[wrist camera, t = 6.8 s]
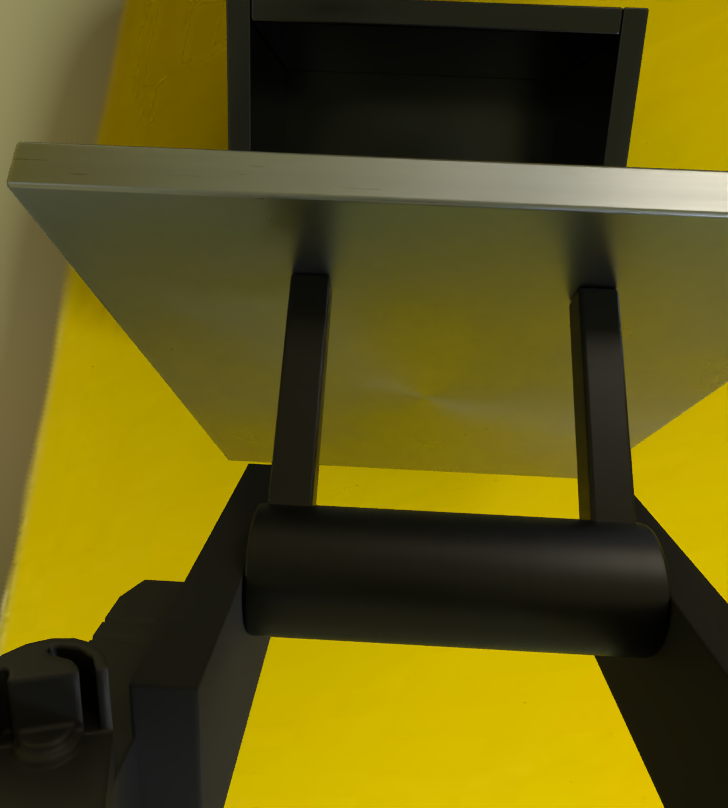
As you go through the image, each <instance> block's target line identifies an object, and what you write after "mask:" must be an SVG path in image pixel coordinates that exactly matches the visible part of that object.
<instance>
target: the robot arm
mask: <svg viewBox="0 0 728 808" xmlns="http://www.w3.org/2000/svg"><path fill="white" fill-rule="evenodd" d="M271 468H272V465H264V464H248V466H247V468H246V470H245V472H244V474H243V475H242V477H241V479H240V481H239V483H238V485H237V486H236V488H235V490H234V492H233V494H232V496H231V497H230V499H229V501H228V503H227V505H226V507H225V508H224V510H223V512H222V514H221V516H220V518H219V519H218V521H217V523H216V525H215V527H214V529H213V530H212V532H211V534H210V536H209V538H208V540H207V541H206V543H205V545H204V547H203V549H202V551H201V552H200V554H199V556H198V558H197V560H196V562H195V563H194V565H193V567H192V569H191V571H190V573H189V574H188V576H187V578H186V580H185V582H174V581H157V580H144V581H142V582H141V583H139V584H138V585H137V586H135V587H134V588H132V589H131V590H129V591H128V592H126V593H125V594H123V595H122V596H120V597H119V599H118V600H117V602H116V603H115V605H114V606H113V607H112V609H111V610H110V612H109V613H108V615H107V616H106V618H105V622H102V623H101V625H100V626H99V628H98V629H97V631H96V632H95V634H94V635H93V639H92V640H90V641H89V642H86V641H83V640H79V639H75V638H54V639H47V640H43V641H38V642H34V643H29V644H26V645H23V646H21V647H19V648H17V649H14V650H12V651H10V652H7V653H5V654H3V655H1V656H0V808H224V804H225V800H226V797H227V793H228V789H229V786H230V782H231V779H232V775H233V771H234V768H235V764H236V760H237V757H238V753H239V749H240V746H241V742H242V738H243V735H244V731H245V728H246V724H247V720H248V717H249V713H250V709H251V706H252V702H253V698H254V695H255V691H256V687H257V684H258V680H259V677H260V673H261V669H262V666H263V662H264V658H265V655H266V651H267V647H268V644H269V640H270V637H267V636H252V635H250V634H248V633H247V631H246V628H245V624H244V619H243V606H242V590H243V571H244V561H245V553H246V546H247V540H248V534H249V530H250V526H251V522H252V518H253V516H254V513H255V511H256V509H257V507H258V505H260V504H262V503H268V497H269V487H270V477H271ZM634 501H635V514H636V522H638V523H642V524H644V525H647V526H648V527H649V528H651V529H652V531H653V532H654V533H655V535H656V536H657V538H658V540H659V542H660V544H661V546H662V549H663V552H664V555H665V559H666V563H667V567H668V573H669V580H670V593H671V606H670V619H669V625H668V630H667V634H666V638H665V640H664V643H663V645H662V647H661V649H660V650H659V651H658V652H657V653H656V654H655V655H653V656H651V657H649V658H633V657H616V656H598V655H594V656H595V658H596V660H597V662H598V664H599V667H600V669H601V671H602V673H603V675H604V677H605V680H606V682H607V684H608V686H609V688H610V690H611V693H612V695H613V697H614V699H615V701H616V703H617V706H618V708H619V710H620V712H621V714H622V716H623V719H624V721H625V723H626V725H627V727H628V729H629V732H630V734H631V736H632V738H633V740H634V742H635V745H636V747H637V749H638V751H639V753H640V755H641V758H642V760H643V762H644V764H645V766H646V768H647V771H648V773H649V775H650V777H651V779H652V781H653V784H654V786H655V788H656V790H657V792H658V795H659V797H660V799H661V801H662V803H663V805H664V808H728V603H727V602H726V601H725V600H724V599H723V598H722V596H721V595H720V594H719V593H718V592H717V591H716V589H715V588H714V587H713V586H712V585H711V584H710V582H709V581H708V580H707V579H706V578H705V577H704V575H703V574H702V573H701V572H700V571H699V570H698V569H697V567H696V566H695V565H694V564H693V563H692V562H691V560H690V559H689V558H688V557H687V556H686V555H685V553H684V552H683V551H682V550H681V549H680V548H679V546H678V545H677V544H676V543H675V542H674V541H673V539H672V538H671V537H670V536H669V535H668V534H667V532H666V531H665V530H664V529H663V528H662V527H661V525H660V524H659V523H658V522H657V521H656V520H655V518H654V517H653V516H652V515H651V514H650V513H649V511H648V510H647V509H646V508H645V507H644V506H643V505H642V503H641V502H640V501H639V500H638V499H637V498H636V496H635V495H634Z"/></svg>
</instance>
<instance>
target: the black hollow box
mask: <svg viewBox="0 0 728 808" xmlns="http://www.w3.org/2000/svg"><path fill="white" fill-rule="evenodd" d="M226 11H227V81H228V150H230V151H254V152H278V153H303V154H327V155H351V156H375V157H399V158H423V159H447V160H471V161H495V162H519V163H543V164H567V165H591V166H615V167H626V165H627V158H628V151H629V144H630V137H631V130H632V123H633V116H634V109H635V102H636V95H637V88H638V81H639V74H640V67H641V60H642V53H643V46H644V39H645V32H646V25H647V18H648V11H649V10H648V8H628V7H626V8H624V9H623V8H621V7H594V6H566V5H539V4H511V3H484V2H457V1H429V0H226Z"/></svg>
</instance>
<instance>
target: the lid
mask: <svg viewBox="0 0 728 808" xmlns="http://www.w3.org/2000/svg"><path fill="white" fill-rule="evenodd" d="M7 185H8V187H9V189H10V190H11V191H12V192H13V194H14V195H15V196H16V197H17V199H18V200H19V201H20V202H21V204H22V205H23V206H24V207H25V208H26V210H27V211H28V212H29V213H30V215H31V216H32V217H33V218H34V220H35V221H36V222H37V223H38V225H39V226H40V227H41V228H42V229H43V231H44V232H45V233H46V234H47V236H48V237H49V238H50V239H51V241H52V242H53V243H54V244H55V246H56V247H57V248H58V249H59V251H60V252H61V253H62V254H63V255H64V257H65V258H66V259H67V260H68V262H69V263H70V264H71V265H72V267H73V268H74V269H75V270H76V272H77V273H78V274H79V275H80V277H81V278H82V279H83V280H84V281H85V283H86V284H87V285H88V286H89V288H90V289H91V290H92V291H93V293H94V294H95V295H96V296H97V298H98V299H99V300H100V301H101V303H102V304H103V305H104V306H105V307H106V309H107V310H108V311H109V312H110V314H111V315H112V316H113V317H114V319H115V320H116V321H117V322H118V324H119V325H120V326H121V327H122V328H123V330H124V331H125V332H126V333H127V335H128V336H129V337H130V338H131V340H132V341H133V342H134V343H135V345H136V346H137V347H138V348H139V350H140V351H141V352H142V353H143V354H144V356H145V357H146V358H147V359H148V361H149V362H150V363H151V364H152V366H153V367H154V368H155V369H156V371H157V372H158V373H159V374H160V376H161V377H162V378H163V379H164V380H165V382H166V383H167V384H168V385H169V387H170V388H171V389H172V390H173V392H174V393H175V394H176V395H177V397H178V398H179V399H180V400H181V401H182V403H183V404H184V405H185V406H186V408H187V409H188V410H189V411H190V413H191V414H192V415H193V416H194V418H195V419H196V420H197V421H198V423H199V424H200V425H201V426H202V427H203V429H204V430H205V431H206V432H207V434H208V435H209V436H210V437H211V439H212V440H213V441H214V442H215V444H216V445H217V446H218V447H219V449H220V450H221V451H222V452H223V453H224V455H225V456H226V457H227V458H228V460H233V461H252V462H271V463H272V468H271V477H270V487H269V497H268V503H262V504H260V505H258V507H257V509H256V511H255V513H254V516H253V518H252V522H251V526H250V530H249V534H248V540H247V546H246V553H245V561H244V571H243V590H242V606H243V619H244V624H245V628H246V631H247V633H248V634H250V635H252V636H267V637H284V638H302V639H319V640H337V641H354V642H372V643H389V644H406V645H424V646H441V647H459V648H476V649H494V650H511V651H529V652H546V653H563V654H581V655H598V656H616V657H633V658H649V657H651V656H653V655H655V654H656V653H657V652H658V651H659V650H660V649H661V647H662V645H663V643H664V640H665V638H666V634H667V630H668V625H669V619H670V606H671V593H670V580H669V573H668V567H667V563H666V559H665V555H664V552H663V549H662V546H661V544H660V542H659V540H658V538H657V536H656V535H655V533H654V532H653V531H652V529H651V528H649V527H648V526H647V525H644V524H642V523H638V522H636V514H635V501H634V488H633V474H632V461H631V448H633V447H634V446H636V445H637V444H639V443H640V442H641V441H643V440H644V439H646V438H647V437H649V436H650V435H652V434H653V433H654V432H656V431H657V430H659V429H660V428H662V427H663V426H665V425H666V424H667V423H669V422H670V421H672V420H673V419H675V418H676V417H678V416H679V415H680V414H682V413H683V412H685V411H686V410H688V409H689V408H691V407H692V406H693V405H695V404H696V403H698V402H699V401H701V400H702V399H704V398H705V397H706V396H708V395H709V394H711V393H712V392H714V391H715V390H717V389H718V388H719V387H721V386H722V385H724V384H725V383H727V382H728V171H711V170H687V169H663V168H639V167H615V166H591V165H567V164H543V163H519V162H495V161H471V160H447V159H423V158H399V157H375V156H351V155H327V154H303V153H278V152H254V151H230V150H206V149H182V148H158V147H134V146H110V145H86V144H85V145H84V144H62V143H61V144H60V143H37V142H19V143H18V144H17V145H16V149H15V152H14V156H13V160H12V164H11V167H10V171H9V175H8V179H7ZM319 465H329V466H349V467H368V468H387V469H407V470H426V471H446V472H465V473H484V474H504V475H523V476H542V477H562V478H578V496H579V516H580V519H564V518H545V517H526V516H507V515H488V514H469V513H451V512H432V511H413V510H394V509H375V508H356V507H337V506H319V505H316V498H317V485H318V473H319Z"/></svg>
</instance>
